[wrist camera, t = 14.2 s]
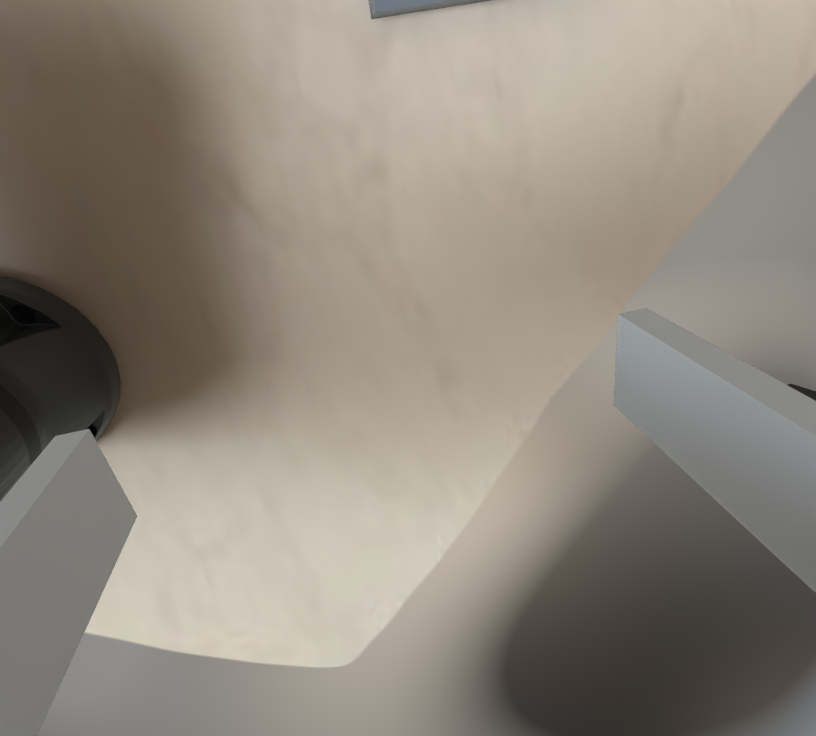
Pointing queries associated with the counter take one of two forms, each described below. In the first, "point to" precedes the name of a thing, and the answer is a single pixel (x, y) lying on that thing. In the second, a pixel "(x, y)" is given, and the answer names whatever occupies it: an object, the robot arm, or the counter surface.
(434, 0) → the tray
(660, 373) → the robot arm
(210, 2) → the counter surface
